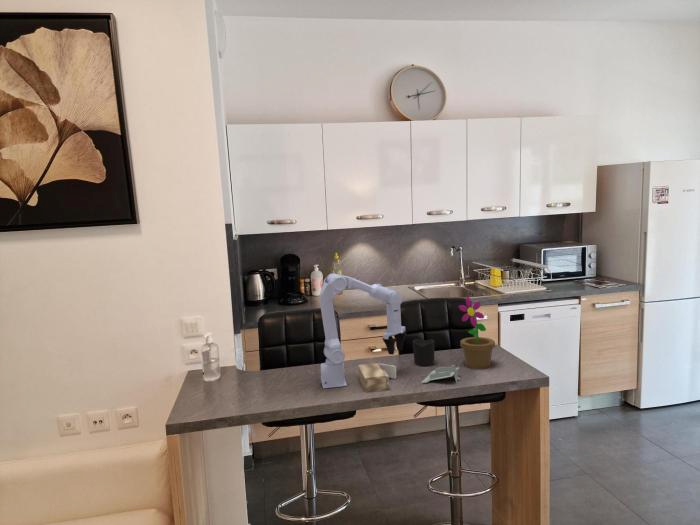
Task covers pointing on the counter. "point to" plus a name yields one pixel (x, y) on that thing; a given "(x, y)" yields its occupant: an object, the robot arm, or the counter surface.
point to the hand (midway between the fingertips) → (395, 351)
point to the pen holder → (423, 352)
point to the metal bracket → (442, 374)
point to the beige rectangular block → (373, 377)
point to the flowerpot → (476, 339)
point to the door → (389, 370)
